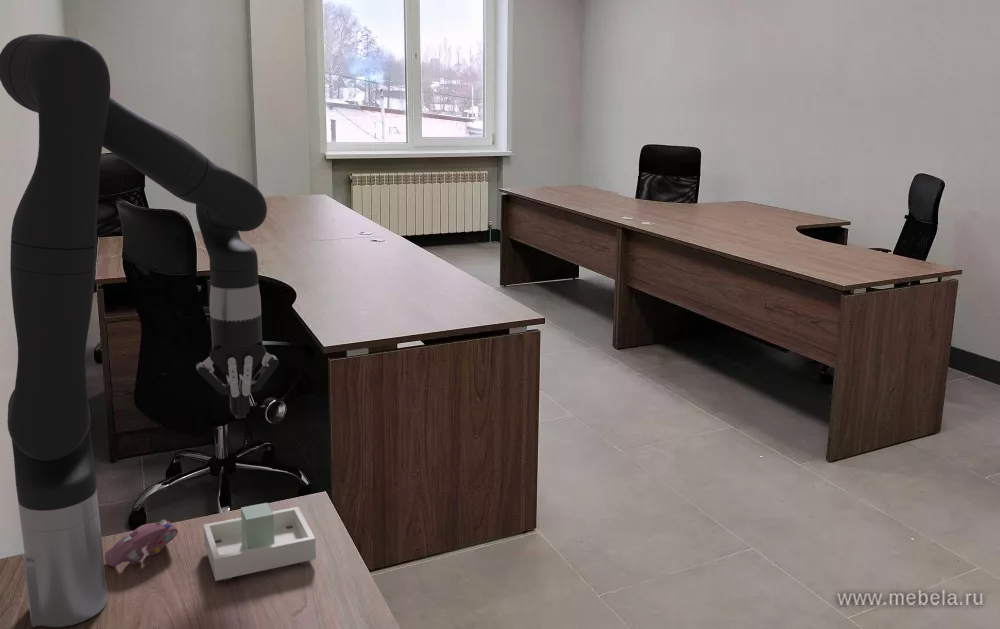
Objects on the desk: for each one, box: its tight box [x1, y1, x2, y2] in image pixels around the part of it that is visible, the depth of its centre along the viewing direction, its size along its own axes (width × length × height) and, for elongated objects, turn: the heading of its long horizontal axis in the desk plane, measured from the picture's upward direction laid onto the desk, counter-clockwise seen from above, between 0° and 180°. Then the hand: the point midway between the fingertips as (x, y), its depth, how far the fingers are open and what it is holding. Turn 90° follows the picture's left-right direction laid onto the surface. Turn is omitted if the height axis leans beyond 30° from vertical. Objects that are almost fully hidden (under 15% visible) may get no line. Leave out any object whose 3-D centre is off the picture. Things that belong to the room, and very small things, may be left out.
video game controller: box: [104, 519, 179, 567], centre depth 126 cm, size 10×5×7 cm, turn 144°
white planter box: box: [202, 506, 317, 582], centre depth 127 cm, size 15×11×5 cm
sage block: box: [240, 502, 275, 550], centre depth 126 cm, size 4×4×6 cm
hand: (240, 416), depth 132 cm, fingers closed
